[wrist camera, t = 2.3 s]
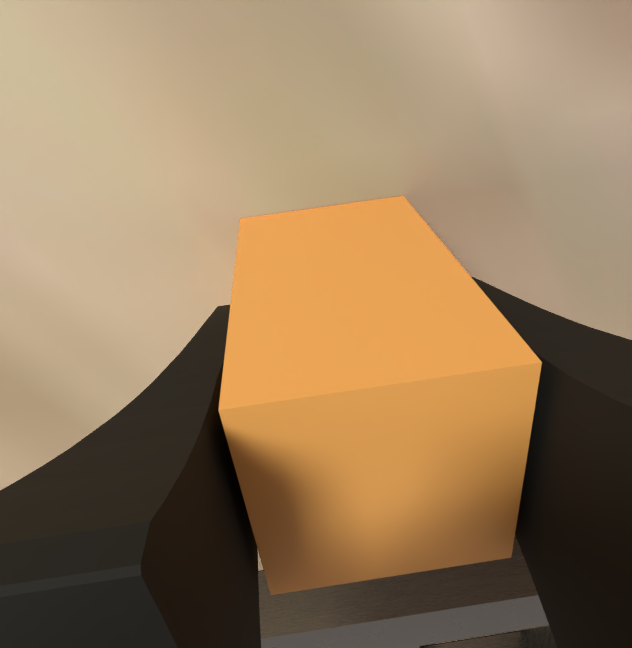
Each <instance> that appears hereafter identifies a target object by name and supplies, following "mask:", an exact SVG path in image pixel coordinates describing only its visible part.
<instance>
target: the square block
mask: <svg viewBox="0 0 632 648" xmlns="http://www.w3.org/2000/svg"><path fill="white" fill-rule="evenodd" d="M541 365H542V362H541V360H540V359H539V358H538V357H537V356H536V354H535V353H534V352H533V351H532V350H531V348H530V347H529V346H528V345H527V344H526V342H525V341H524V340H523V339H522V338H521V336H520V335H519V334H518V333H517V332H516V330H515V329H514V328H513V327H512V326H511V324H510V323H509V322H508V321H507V320H506V318H505V317H504V316H503V315H502V314H501V312H500V311H499V310H498V309H497V308H496V306H495V305H494V304H493V303H492V302H491V300H490V299H489V298H488V297H487V296H486V294H485V293H484V292H483V291H482V290H481V288H480V287H479V286H478V285H477V284H476V282H475V281H474V280H473V279H472V278H471V276H470V275H469V274H468V273H467V272H466V270H465V269H464V268H463V267H462V266H461V264H460V263H459V262H458V261H457V260H456V258H455V257H454V256H453V255H452V254H451V252H450V251H449V250H448V249H447V248H446V246H445V245H444V244H443V243H442V242H441V240H440V239H439V238H438V237H437V236H436V234H435V233H434V232H433V231H432V230H431V228H430V227H429V226H428V225H427V224H426V222H425V221H424V220H423V219H422V218H421V216H420V215H419V214H418V213H417V212H416V210H415V209H414V208H413V207H412V206H411V204H410V203H409V202H408V201H407V200H406V198H405V197H404V196H398V197H391V198H384V199H376V200H369V201H362V202H355V203H348V204H341V205H334V206H326V207H319V208H312V209H305V210H298V211H291V212H284V213H276V214H269V215H262V216H255V217H248V218H241V219H240V225H239V234H238V243H237V251H236V260H235V269H234V278H233V286H232V295H231V304H230V313H229V322H228V330H227V339H226V348H225V357H224V365H223V374H222V383H221V392H220V400H219V409H218V411H219V414H220V418H221V421H222V425H223V428H224V432H225V435H226V439H227V442H228V446H229V449H230V453H231V456H232V460H233V463H234V467H235V470H236V474H237V477H238V481H239V485H240V488H241V492H242V495H243V499H244V502H245V506H246V509H247V513H248V516H249V520H250V523H251V527H252V530H253V534H254V537H255V541H256V544H257V548H258V551H259V555H260V558H261V562H262V566H263V569H264V573H265V576H266V580H267V583H268V587H269V590H270V594H271V595H276V594H282V593H288V592H295V591H301V590H308V589H314V588H320V587H327V586H333V585H339V584H346V583H352V582H359V581H365V580H371V579H378V578H384V577H391V576H397V575H403V574H410V573H416V572H422V571H429V570H435V569H442V568H448V567H454V566H461V565H467V564H474V563H480V562H486V561H493V560H499V559H505V558H511V556H512V550H513V544H514V537H515V531H516V524H517V518H518V512H519V505H520V499H521V493H522V486H523V480H524V474H525V467H526V461H527V454H528V448H529V442H530V435H531V429H532V423H533V416H534V410H535V403H536V397H537V391H538V384H539V378H540V372H541Z"/></svg>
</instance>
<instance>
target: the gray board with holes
mask: <svg viewBox="0 0 632 648" xmlns="http://www.w3.org/2000/svg"><path fill="white" fill-rule="evenodd" d="M258 583H259V609H260V632H261V648H557V646H556V643H555V640H554V637H553V634H552V632H551V629H550V626H549V623H548V621H547V618H546V615H545V612H544V610H543V607H542V604H541V601H540V599H539V596H538V593H537V590H536V588H535V585H534V582H533V579H532V577H531V574H530V572H529V569H528V566H527V564H526V561H525V559H524V556H523V553H522V551H521V548H520V546H519V543H518V541H517V538H516V535H515V537H514V544H513V550H512V556H511V558H505V559H499V560H493V561H486V562H480V563H474V564H467V565H461V566H454V567H448V568H442V569H435V570H429V571H422V572H416V573H410V574H403V575H397V576H391V577H384V578H378V579H371V580H365V581H359V582H352V583H346V584H339V585H333V586H327V587H320V588H314V589H308V590H301V591H295V592H288V593H282V594H276V595H271V594H270V590H269V587H268V583H267V580H266V576H265V573H264V571H258ZM516 630H522V631H518V632H512V633H506V634H499V635H493V636H487V637H481V638H474V639H468V640H462V641H456V642H449V643H443V644H437V645H431V646H424V647H420V646H423V645H429V644H435V643H441V642H448V641H454V640H460V639H466V638H473V637H479V636H485V635H491V634H498V633H504V632H510V631H516Z"/></svg>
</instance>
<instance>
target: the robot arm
mask: <svg viewBox="0 0 632 648" xmlns="http://www.w3.org/2000/svg"><path fill="white" fill-rule="evenodd" d="M471 278H472V279H473V280H474V281H475V282H476V284H477V285H478V286H479V287H480V288H481V290H482V291H483V292H484V293H485V294H486V296H487V297H488V298H489V299H490V300H491V302H492V303H493V304H494V305H495V306H496V308H497V309H498V310H499V311H500V312H501V314H502V315H503V316H504V317H505V318H506V320H507V321H508V322H509V323H510V324H511V326H512V327H513V328H514V329H515V330H516V332H517V333H518V334H519V335H520V336H521V338H522V339H523V340H524V341H525V342H526V344H527V345H528V346H529V347H530V348H531V350H532V351H533V352H534V353H535V354H536V356H537V357H538V358H539V359H540V360H541V362H542V365H541V372H540V378H539V384H538V391H537V397H536V403H535V410H534V416H533V423H532V429H531V435H530V442H529V448H528V454H527V461H526V467H525V474H524V480H523V486H522V493H521V499H520V505H519V512H518V518H517V524H516V531H515V535H516V538H517V541H518V543H519V546H520V548H521V551H522V553H523V556H524V559H525V561H526V564H527V566H528V569H529V572H530V574H531V577H532V579H533V582H534V585H535V588H536V590H537V593H538V596H539V599H540V601H541V604H542V607H543V610H544V612H545V615H546V618H547V621H548V623H549V626H550V629H551V632H552V634H553V637H554V640H555V643H556V646H557V648H632V340H629V339H626V338H623V337H619V336H616V335H613V334H610V333H606V332H603V331H600V330H597V329H594V328H591V327H588V326H585V325H582V324H579V323H577V322H574V321H571V320H569V319H566V318H564V317H561V316H559V315H556V314H554V313H551V312H549V311H546V310H544V309H541V308H539V307H537V306H534V305H532V304H530V303H528V302H525V301H523V300H521V299H519V298H517V297H514V296H512V295H510V294H508V293H506V292H504V291H502V290H500V289H497V288H495V287H493V286H491V285H489V284H487V283H485V282H483V281H480V280H478V279H476V278H474V277H471ZM229 313H230V305H224V306H218V307H217V308H216V309H215V310H214V312H213V313H212V314H211V316H210V317H209V318H208V319H207V321H206V322H205V323H204V324H203V326H202V327H201V328H200V329H199V331H198V332H197V333H196V334H195V336H194V337H193V338H192V339H191V341H190V342H189V343H188V344H187V345H186V347H185V348H184V349H183V350H182V351H181V353H180V354H179V355H178V356H177V357H176V358H175V359H174V360H173V361H172V362H171V363H170V364H169V365H168V367H167V368H166V369H165V370H164V371H163V372H162V373H161V374H160V375H159V376H158V377H157V378H156V379H155V380H154V381H153V382H152V383H151V384H150V385H149V386H148V387H147V388H146V389H145V390H144V391H143V392H142V393H141V394H140V395H138V396H137V397H136V398H135V399H134V400H133V401H131V402H130V403H129V404H128V405H127V406H126V407H124V408H123V409H122V410H121V411H120V412H119V413H117V414H116V415H115V416H114V417H112V418H111V419H110V420H108V421H107V422H106V423H104V424H103V425H101V426H100V427H99V428H97V429H96V430H95V431H93V432H92V433H90V434H89V435H88V436H86V437H85V438H84V439H82V440H81V441H80V442H78V443H77V444H75V445H74V446H73V447H71V448H70V449H68V450H67V451H65V452H64V453H62V454H60V455H59V456H57V457H56V458H54V459H53V460H51V461H50V462H48V463H46V464H45V465H43V466H42V467H40V468H38V469H37V470H35V471H33V472H32V473H30V474H28V475H27V476H25V477H23V478H22V479H20V480H18V481H16V482H15V483H13V484H11V485H9V486H8V487H6V488H4V489H2V490H1V491H0V648H261V632H260V609H259V583H258V552H257V544H256V541H255V537H254V534H253V530H252V527H251V523H250V520H249V516H248V513H247V509H246V506H245V502H244V499H243V495H242V492H241V488H240V485H239V481H238V477H237V474H236V470H235V467H234V463H233V460H232V456H231V453H230V449H229V446H228V442H227V439H226V435H225V432H224V428H223V425H222V421H221V418H220V414H219V411H218V409H219V400H220V392H221V383H222V374H223V365H224V357H225V348H226V339H227V330H228V322H229Z"/></svg>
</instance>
